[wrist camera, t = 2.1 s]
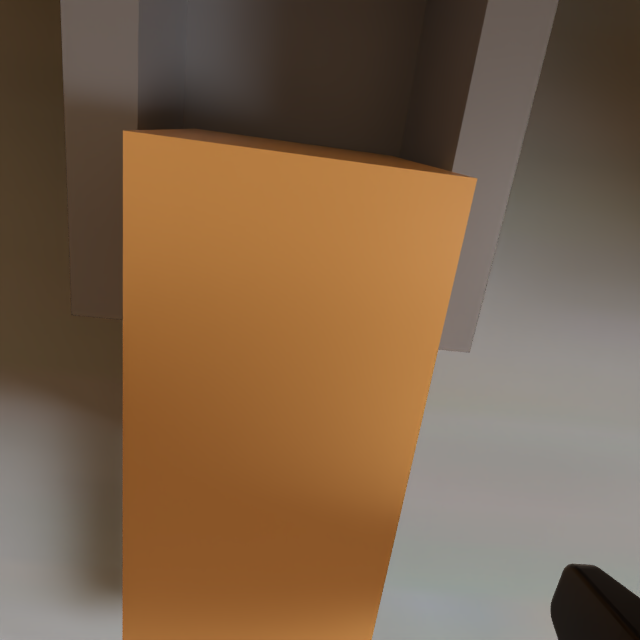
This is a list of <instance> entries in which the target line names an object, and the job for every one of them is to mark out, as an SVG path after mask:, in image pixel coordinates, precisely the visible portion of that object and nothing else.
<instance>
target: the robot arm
mask: <svg viewBox="0 0 640 640" xmlns="http://www.w3.org/2000/svg"><path fill="white" fill-rule="evenodd" d="M551 618H552V622H553V625H554V628H555V631H556V634H557V637H558V640H640V598H639V597H638V596H636V595H635V594H634V593H632V592H631V591H630V590H628V589H627V588H626V587H624V586H623V585H622V584H620V583H619V582H617V581H616V580H615V579H613V578H612V577H611V576H609V575H608V574H607V573H605V572H604V571H603V570H601V569H600V568H598V567H596V566H594V565H586V564H569V565H568V566H566V567H565V568H564V570H563V572H562V575H561V578H560V580H559V583H558V585H557V588H556V591H555V593H554V596H553V599H552V602H551Z"/></svg>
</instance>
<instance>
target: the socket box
mask: <svg viewBox="0 0 640 640" xmlns="http://www.w3.org/2000/svg"><path fill="white" fill-rule="evenodd" d="M558 2H559V0H60V5H61V33H62V61H63V89H64V117H65V145H66V173H67V201H68V229H69V257H70V285H71V313H72V315H77V316H88V317H99V318H109V319H120V320H123V130H160V129H201V130H209V131H216V132H223V133H230V134H238V135H245V136H252V137H259V138H267V139H274V140H281V141H288V142H296V143H303V144H310V145H317V146H325V147H332V148H339V149H346V150H354V151H361V152H368V153H375V154H383V155H390V156H394V157H398V158H402V159H406V160H409V161H413V162H417V163H421V164H425V165H428V166H432V167H436V168H440V169H444V170H447V171H451V172H455V173H459V174H462V175H466V176H470V177H474V178H477V183H476V187H475V191H474V196H473V200H472V204H471V209H470V213H469V217H468V222H467V226H466V231H465V235H464V239H463V244H462V248H461V252H460V257H459V261H458V265H457V270H456V274H455V278H454V283H453V287H452V291H451V296H450V300H449V305H448V309H447V313H446V318H445V322H444V326H443V331H442V335H441V339H440V344H439V348H438V350H447V351H458V352H469V353H470V349H471V345H472V341H473V337H474V334H475V330H476V326H477V322H478V318H479V314H480V310H481V306H482V302H483V298H484V294H485V290H486V286H487V282H488V278H489V274H490V270H491V266H492V262H493V259H494V255H495V251H496V247H497V243H498V239H499V235H500V231H501V227H502V223H503V219H504V215H505V211H506V207H507V203H508V199H509V195H510V191H511V187H512V184H513V180H514V176H515V172H516V168H517V164H518V160H519V156H520V152H521V148H522V144H523V140H524V136H525V132H526V128H527V124H528V120H529V116H530V112H531V109H532V105H533V101H534V97H535V93H536V89H537V85H538V81H539V77H540V73H541V69H542V65H543V61H544V57H545V53H546V49H547V45H548V41H549V37H550V34H551V30H552V26H553V22H554V18H555V14H556V10H557V6H558Z"/></svg>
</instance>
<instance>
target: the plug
mask: <svg viewBox="0 0 640 640" xmlns="http://www.w3.org/2000/svg"><path fill="white" fill-rule="evenodd" d="M476 183H477V178H474V177H470V176H466V175H462V174H459V173H455V172H451V171H447V170H444V169H440V168H436V167H432V166H428V165H425V164H421V163H417V162H413V161H409V160H406V159H402V158H398V157H394V156H390V155H383V154H375V153H368V152H361V151H354V150H346V149H339V148H332V147H325V146H317V145H310V144H303V143H296V142H288V141H281V140H274V139H267V138H259V137H252V136H245V135H238V134H230V133H223V132H216V131H209V130H201V129H160V130H123V640H371V639H372V635H373V631H374V626H375V622H376V618H377V613H378V609H379V605H380V600H381V596H382V592H383V587H384V583H385V579H386V574H387V570H388V566H389V561H390V557H391V552H392V548H393V544H394V539H395V535H396V531H397V526H398V522H399V518H400V513H401V509H402V505H403V500H404V496H405V492H406V487H407V483H408V479H409V474H410V470H411V465H412V461H413V457H414V452H415V448H416V444H417V439H418V435H419V431H420V426H421V422H422V418H423V413H424V409H425V405H426V400H427V396H428V392H429V387H430V383H431V378H432V374H433V370H434V365H435V361H436V357H437V352H438V348H439V344H440V339H441V335H442V331H443V326H444V322H445V318H446V313H447V309H448V305H449V300H450V296H451V291H452V287H453V283H454V278H455V274H456V270H457V265H458V261H459V257H460V252H461V248H462V244H463V239H464V235H465V231H466V226H467V222H468V217H469V213H470V209H471V204H472V200H473V196H474V191H475V187H476Z"/></svg>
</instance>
